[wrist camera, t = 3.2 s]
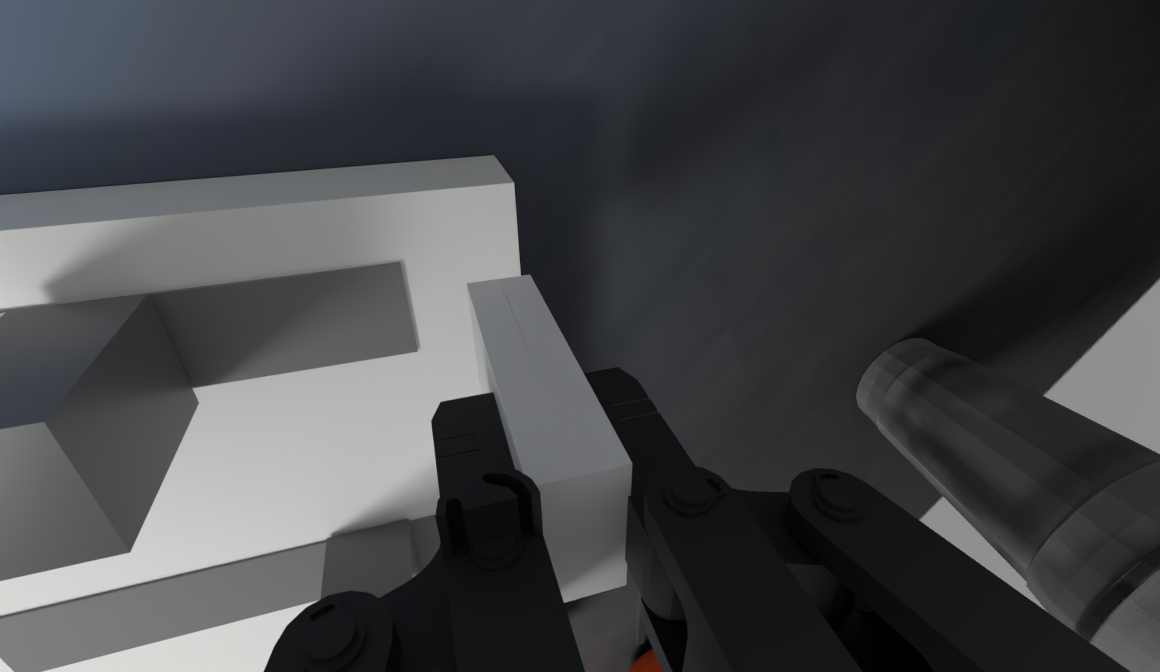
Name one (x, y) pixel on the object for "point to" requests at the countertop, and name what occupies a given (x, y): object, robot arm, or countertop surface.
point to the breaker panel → (265, 395)
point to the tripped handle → (84, 429)
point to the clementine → (646, 663)
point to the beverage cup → (1034, 489)
